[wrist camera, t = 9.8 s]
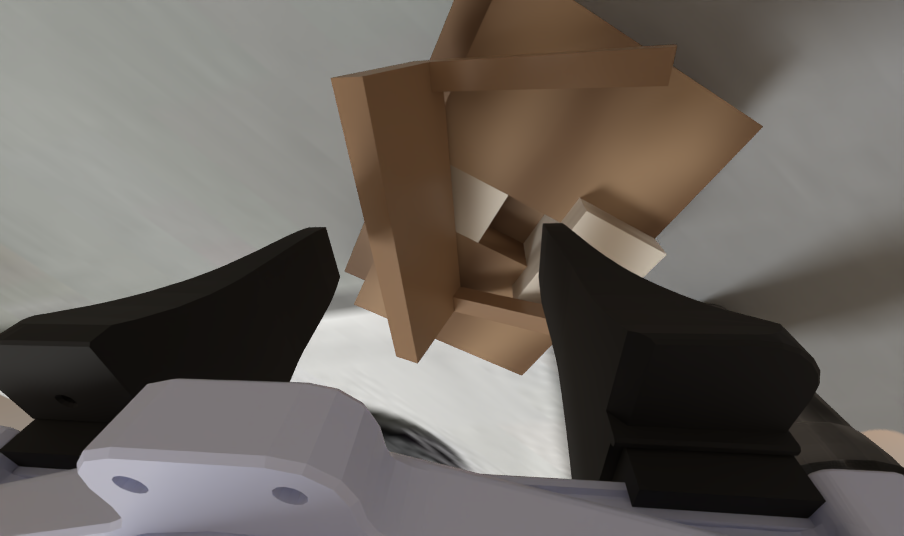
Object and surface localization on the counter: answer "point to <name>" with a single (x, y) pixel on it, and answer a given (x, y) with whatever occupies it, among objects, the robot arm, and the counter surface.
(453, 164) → the wooden block stack
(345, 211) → the counter surface
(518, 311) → the wooden l-shaped bracket
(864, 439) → the beverage cup
